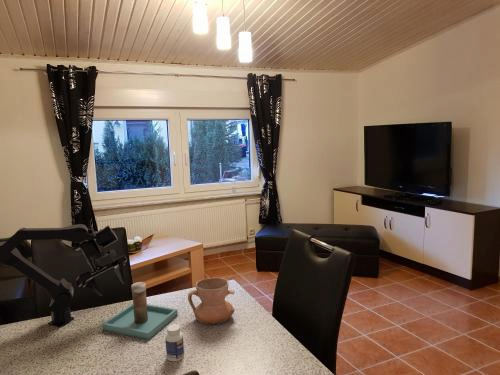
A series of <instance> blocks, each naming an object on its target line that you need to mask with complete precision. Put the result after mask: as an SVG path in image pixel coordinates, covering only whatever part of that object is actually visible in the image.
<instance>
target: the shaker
mask: <svg viewBox="0 0 500 375" xmlns="http://www.w3.org/2000/svg"><path fill="white" fill-rule="evenodd" d="M130 288H131V293H132V294H131V295H132V296H131V297H132V304H133V309H134V321H135V323H136V324H143V323H145V322H147V321H148V313H147V304H148V302H147V284H146V282H143V281H139V282H138V281H137V282H134V283H133V284H131V286H130Z"/></svg>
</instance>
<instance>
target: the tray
mask: <svg viewBox="0 0 500 375" xmlns="http://www.w3.org/2000/svg"><path fill="white" fill-rule="evenodd" d="M147 313H148V321H147V322H145V323H143V324H136V323H135V321H134V309H133V303H132V304H129V306H127V307H126V308H123V310H121V311H120V312H118V313H116V314H115V315H113V316H112V317H111V318H109V319H108V320H106V321H104V322H103V323H101V328H102V331H103V332H104V331H105V332H107V333H113V334H117V335H123V336H126V337H127V336H128V337H132V338H137V339H141V340H146V341H150V340H151V339H152V338H153V337H154V336H156V334H158V333H159V332H161V330H163V329H164V328H165V327H166V326H167V325H169V324H170V323H171V322H172V321H173V320H174V319H176V318H177V317H178V315H179V314H178V313H179V312H178V309H177V308H171V307H167V306H166V307H165V306H159V305H154V304H148V303H147Z"/></svg>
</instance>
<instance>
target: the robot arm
mask: <svg viewBox="0 0 500 375" xmlns="http://www.w3.org/2000/svg"><path fill="white" fill-rule="evenodd" d="M41 240H45V241H46V240H62V241H67V242H71V243H72V242H73V243H75V245H74V248H73V249H74V250H75V251H80V250H81V252H82V254H83V256H84V257H85V260H86V263H87V265H89V266H90V268H91V269H92V270H91V272H90V271H89V270H88V271H86V272H84V273H81V274H80V275H79V276H77V278H76V280H75V282H76V283H75V284H76V285H77V287H78V288H80V287H81V286H82V288H85V287H86V288H87V289H90V290H91V291H93V292H94V293H96V294H97V295H99V297H102V296H104V294H103V292H102V290H101V289H100V287H99V285H98V284H97V283H96V279H95V277H96V276H98V275H100V274H102V273H105V272H106V271H108V270H111V269H112V268H113V269H114V270H113V272H114V273H115V275H116V277H117V278H118V279H119V281H120V282H121V284H122V285H125V284H126V282H125V276H124V266H125V265H126V262H127V261H128V258H127V257H126V256H125V255H123V254H122V255H120V256H118V257H117V253H116V251H115V250H114V249H112V248H111V249H110V250H108V251H107V253H105V252H104V251H103V250H101V248H106V247H108V246H110V245H112V244H114V243H115V242H117V241H119V239H118V236H117V234H116V232H115V231H114V230H113V229H112V228H111V227H110V225H106V226H105V227H104V228H102V229H100V230H98V231H95V230H93V229H90V228H88V227H87V226H86V225H85V224H82V223H78V224H74V225H73V224H72V225H68V226H63V227H33V228H32V227H30V228H29V227H28V228H27V227H21V228H18V230H17V231H16V232H15V233H14V234H12V235H11V236H10V237H9V238H8V239H6V240H5V241H4V240H3V241H1V242H0V265H3V266H7V267H9V268H10V267H11V268H13V269H14V270H16V271H18V272H19V273H20V274H22V275H24V276H25V277H27V278H28V279H30V280H31V281H32V282H34V284H35V283H36V284H37V285H38V286H40V287H41V288H42V289H43V290H46V291H47V293H48V295H49V296H50V297H51V301H50V304H49V306H48V308H49V310H50V318H51V320H50V321H49V322H48V325H50V326H54V327H55V326H56V327H62V326H64V325H66V324H68V323H69V322H70V323H71V321H73V320H74V319H75V317H74V316H72V314H71V309H70V305H69V303H71V301H72V299H73V297H74V286H73V285H72V283H71V282H70V281H67V280H66V279H65V278H64V277H62V278H61V280H58V279H56V278H53V277H52V276H51V275H49V274H48V273H46V272H45V271H43V270H42V269H41V268H39V267H38V266H36V265H35V264H34V263H32V262H31V261H29V259H26V258H25V257H24V256H23V255H22V254H21V252H20V250H19V249H18V248H17V247H18V246H19V245H20V244H21V243H22V242H24V241H41ZM100 247H101V248H100Z"/></svg>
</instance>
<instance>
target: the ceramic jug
mask: <svg viewBox="0 0 500 375" xmlns="http://www.w3.org/2000/svg"><path fill="white" fill-rule="evenodd" d="M235 293H236V291H235V290H234V289H230V290H229V281H228V279H227V278H224V277H209V278H207V277H206V278H203V279H200V280H197V281H196V283H195V289H194V290H193V289H192V290H191V291H190V292H189V293H188V295H187V300H188V304H189V305H190V307H191V309H192V312H193V314H194V315H193V316H194V318H195V319H196V320H197V321H198V322H200V323H201V324H205V325H211V326H212V325H213V326H214V325H220V324H222V323H224V322H227V321H228V320H229V319H230V318H231V317H232V315H233V314H234V313H235V307H234V306H233V305H232V303H231V302H230V301H227V300H225V299H226V297H227V296H229V295H235ZM193 295H194V296H196V297H198V298H199V300H200V303H199V304H198V305H197V306H195V304H194V302H193V300H192V297H193Z"/></svg>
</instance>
